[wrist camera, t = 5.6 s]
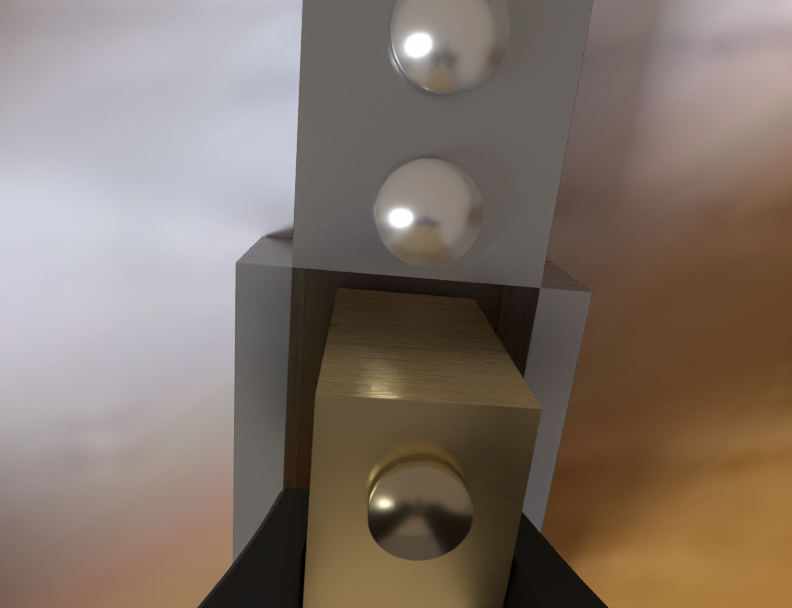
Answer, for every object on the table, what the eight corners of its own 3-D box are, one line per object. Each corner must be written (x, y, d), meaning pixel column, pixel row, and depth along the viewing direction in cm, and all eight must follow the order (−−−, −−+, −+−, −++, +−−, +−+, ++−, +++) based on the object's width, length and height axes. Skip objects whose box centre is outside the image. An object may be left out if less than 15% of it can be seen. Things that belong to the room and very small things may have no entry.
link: (474, 299, 12) (551, 424, 7) (432, 587, 14) (466, 842, 9) (337, 287, 12) (311, 409, 7) (317, 583, 14) (287, 840, 9)
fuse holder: (595, 23, 11) (675, -15, 8) (465, 714, 17) (485, 837, 14) (268, -16, 11) (228, -72, 8) (251, 708, 17) (224, 835, 14)
